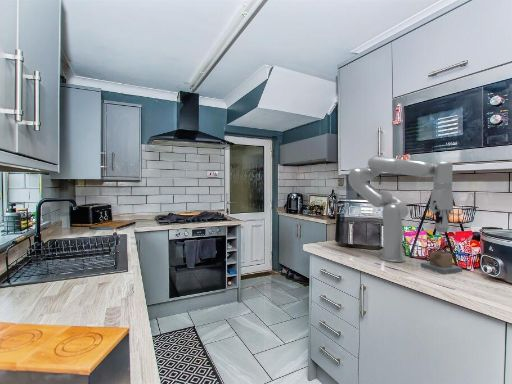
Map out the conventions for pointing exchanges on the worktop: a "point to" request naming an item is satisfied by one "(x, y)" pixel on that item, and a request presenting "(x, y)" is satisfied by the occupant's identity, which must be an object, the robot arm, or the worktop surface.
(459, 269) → the slab
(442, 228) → the salt shaker
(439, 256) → the walnut block
